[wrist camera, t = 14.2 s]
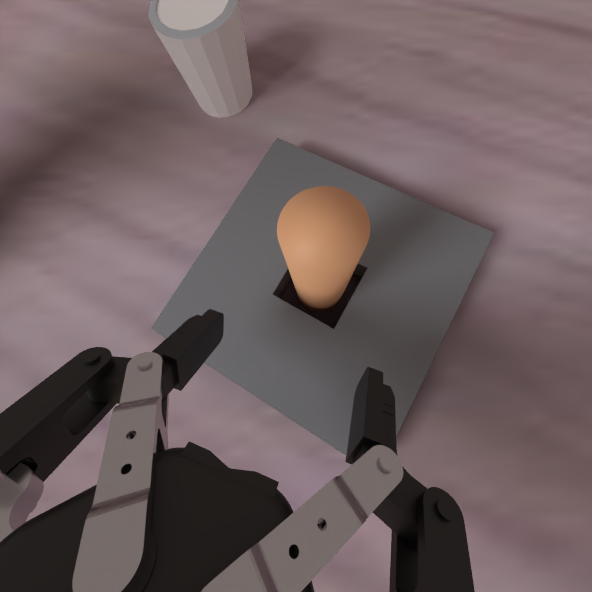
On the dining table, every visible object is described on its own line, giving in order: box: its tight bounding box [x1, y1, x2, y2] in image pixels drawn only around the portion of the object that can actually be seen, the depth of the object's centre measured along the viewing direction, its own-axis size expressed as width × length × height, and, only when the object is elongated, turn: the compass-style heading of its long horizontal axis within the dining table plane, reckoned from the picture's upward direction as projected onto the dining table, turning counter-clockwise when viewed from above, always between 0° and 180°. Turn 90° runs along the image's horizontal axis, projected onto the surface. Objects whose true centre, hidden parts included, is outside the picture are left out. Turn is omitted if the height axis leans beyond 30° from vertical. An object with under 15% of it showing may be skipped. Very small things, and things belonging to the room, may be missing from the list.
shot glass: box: [148, 0, 252, 118], centre depth 22 cm, size 7×7×7 cm
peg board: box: [152, 138, 494, 455], centre depth 19 cm, size 18×18×2 cm
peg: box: [277, 186, 370, 313], centre depth 15 cm, size 4×4×11 cm
